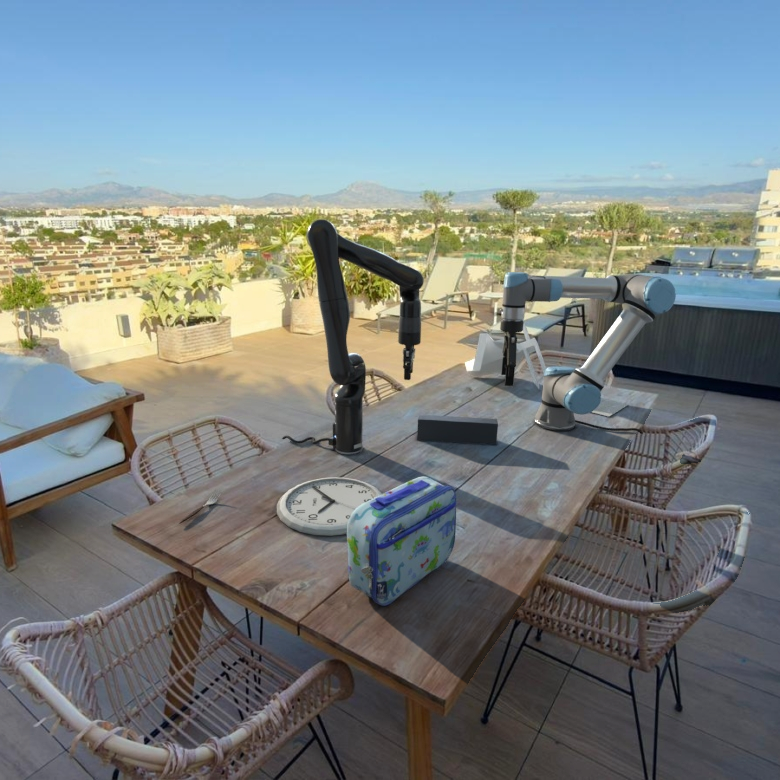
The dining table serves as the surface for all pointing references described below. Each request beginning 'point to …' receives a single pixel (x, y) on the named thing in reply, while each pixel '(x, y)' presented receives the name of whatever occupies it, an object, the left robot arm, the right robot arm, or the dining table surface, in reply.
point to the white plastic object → (492, 356)
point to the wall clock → (324, 504)
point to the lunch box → (400, 538)
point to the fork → (209, 502)
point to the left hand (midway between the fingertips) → (408, 376)
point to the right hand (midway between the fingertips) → (507, 380)
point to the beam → (457, 429)
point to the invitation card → (608, 407)
